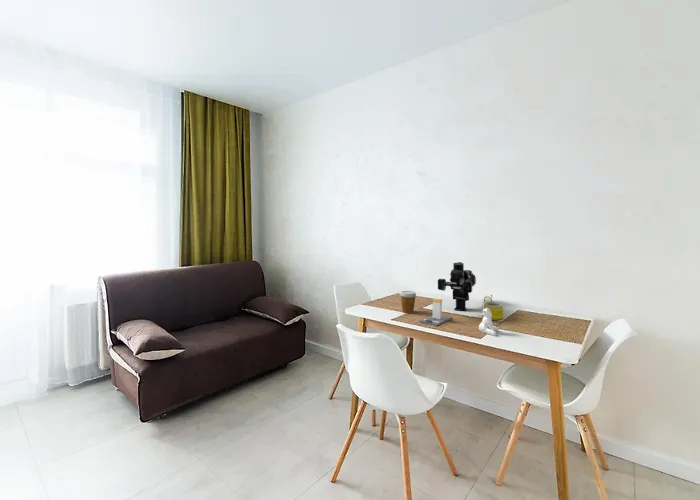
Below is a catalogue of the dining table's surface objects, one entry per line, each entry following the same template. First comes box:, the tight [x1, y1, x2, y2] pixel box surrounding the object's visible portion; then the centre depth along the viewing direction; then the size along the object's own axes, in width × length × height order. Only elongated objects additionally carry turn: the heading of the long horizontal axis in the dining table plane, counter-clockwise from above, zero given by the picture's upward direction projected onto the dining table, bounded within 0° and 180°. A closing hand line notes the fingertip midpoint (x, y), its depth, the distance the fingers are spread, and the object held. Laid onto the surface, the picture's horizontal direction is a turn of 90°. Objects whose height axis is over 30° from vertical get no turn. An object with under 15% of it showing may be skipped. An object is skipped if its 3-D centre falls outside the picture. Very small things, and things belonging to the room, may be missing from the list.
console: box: [419, 314, 453, 327], centre depth 185 cm, size 18×10×2 cm, turn 138°
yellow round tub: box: [482, 294, 505, 321], centre depth 190 cm, size 13×11×12 cm
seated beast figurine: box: [478, 308, 500, 337], centre depth 165 cm, size 10×9×12 cm
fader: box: [431, 298, 443, 319], centre depth 185 cm, size 2×5×10 cm, turn 48°
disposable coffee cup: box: [399, 290, 417, 314], centre depth 202 cm, size 10×10×12 cm
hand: (450, 290), depth 185 cm, fingers open, 9 cm apart
